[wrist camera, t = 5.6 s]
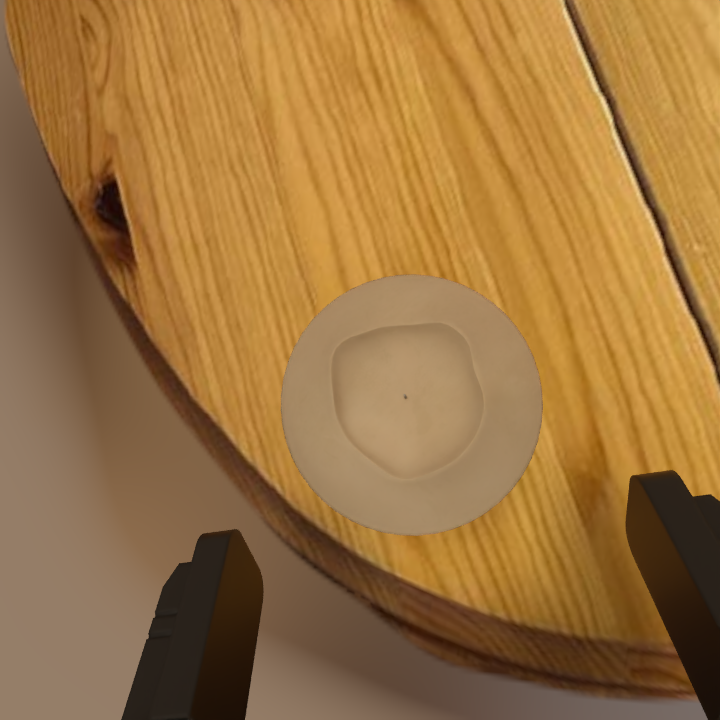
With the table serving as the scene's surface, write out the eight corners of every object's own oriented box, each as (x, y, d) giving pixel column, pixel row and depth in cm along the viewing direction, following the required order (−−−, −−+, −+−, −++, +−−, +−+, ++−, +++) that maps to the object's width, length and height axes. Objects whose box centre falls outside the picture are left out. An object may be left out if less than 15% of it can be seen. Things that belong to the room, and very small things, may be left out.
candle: (315, 428, 21) (202, 408, 11) (413, 314, 21) (387, 196, 11) (430, 532, 20) (419, 616, 10) (533, 412, 20) (623, 376, 10)
